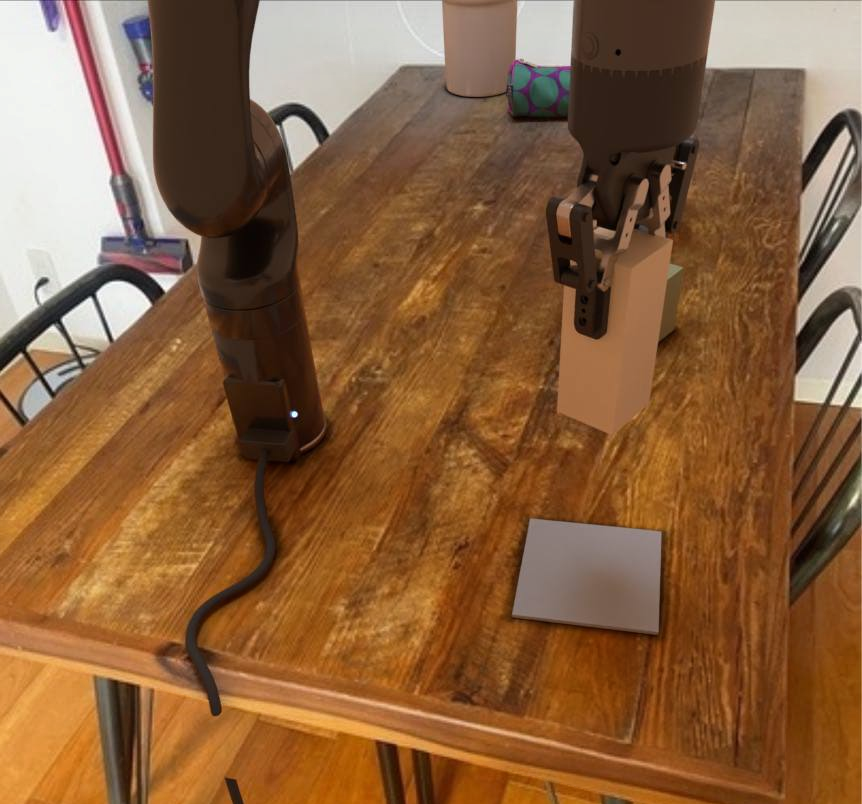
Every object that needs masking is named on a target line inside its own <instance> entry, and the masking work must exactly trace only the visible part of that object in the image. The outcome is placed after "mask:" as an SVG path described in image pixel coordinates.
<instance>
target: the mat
mask: <svg viewBox="0 0 862 804" xmlns="http://www.w3.org/2000/svg"><path fill="white" fill-rule="evenodd" d="M662 538H663V537H662V531H661V530H652V529H643V528H633V527H632V528H631V527H622V526H611V525H601V524H591V523H581V522H570V521H561V520H560V521H559V520H551V519H540V518H532V517H531V518H529V522H528V528H527V533H526V539H525V543H524V548H523V555H522V560H521V563H520V564H521V565H520V570H519V576H518V581H517V586H516V591H515V596H514V601H513V607H512V613H511V618H515V619H522V620H531V621H539V622H548V623H555V624H565V625H572V626H581V627H588V628H589V627H590V628H597V629H605V630H612V631H621V632H629V633H638V634H646V635H647V634H648V635H655V636H659V632H660V630H659V629H660V598H661V596H660V595H661V591H660V590H661V568H662V567H661V565H662Z"/></svg>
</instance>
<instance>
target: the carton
mask: <svg viewBox="0 0 862 804" xmlns="http://www.w3.org/2000/svg"><path fill="white" fill-rule="evenodd" d="M593 231H594V232H595V233H597V234H600V235H603V236H607V237H610V238H613V237H614V235H615V232H616V231H611V230H608V229H604V228H601V227H596V228H595V229H593ZM673 243H674V239H672V238H669V237H666V238H665V237H662V236H658V235H655V236H653V235H650V234H649V233H648V232H644V231H641V230H637V229H634V228H633V232H632V235H631V239H630V242H629V246H628V249H627V251H626V252H625V253H623V254H620V255H619V256H618V259H617V262H616V263H615V266H614V274H613V278H612V282H611V284H610V287H611V294H610V304H609V315H608V325H607V333H606V334H605V335H604V336H603V337H602V338H600V339H598V340H595V339H593V338H590V337H587V336H584V335H582V334H579V333H578V332H577V331H576V330H575V327H574V316H575V315H574V311H575V294H576V289H574V288H571V287H568V286H565V285H563V297H562V298H563V299H562V301H563V302H562V316H561V331H560V332H561V333H560V335H561V336H560V350H559V365H558V366H559V368H558V384H557V385H558V386H557V404H556V412H558V413H559V414H562V415H564V416H567V417H569V418H571V419H574V420H576V421H579V422H581V423H583V424H586V425H588V426H590V427H592V428H594V429H596V430H599V431H601V432H604V433H605V434H608V435H611V436H614V435H616V433H618V432H619V431H620V430H621V429H622V428H623V427H625V426H626V425H627V424H628V423H629V422H630V421H631V420H633V419H634V418H635V417H636V416H637V415H638V414H639V413H641V411H643V410H644V409H645V408H647V406H649V405H650V401H651V392H652V387H653V385H652V384H653V379H654V374H655V367H656V361H657V352H658V345H659V342H658V339H659V333H660V326H661V319H662V312H663V305H664V298H665V292H666V285H667V278H668V271H669V264H671V257H672V251H673ZM595 258H596V268H597V269H599V267H600V264H601V260H602V252H601V251H600V250H597V249H595ZM572 264H573V261H572V260H570V265H572Z"/></svg>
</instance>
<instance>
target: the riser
mask: <svg viewBox="0 0 862 804" xmlns="http://www.w3.org/2000/svg"><path fill="white" fill-rule="evenodd" d="M684 269H685V267H683V266H680V265H676V264H674V263H670V264H669V271H668V278H667V285H666V292H665V298H664V305H663V312H662V319H661V326H660V333H659V339H658V343H659V342H661V341H662V340H663V339H665V338H666V337H667V336H668V335H669V334H671V333H672V332H673V331H674V330H675V327H676V320H677V315H678V308H679V300H680V296H681V295H680V294H681V288H682V282H683V277H684V276H683V275H684Z"/></svg>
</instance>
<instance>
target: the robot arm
mask: <svg viewBox="0 0 862 804" xmlns="http://www.w3.org/2000/svg"><path fill="white" fill-rule="evenodd" d="M260 2H261V0H147V9H148V18H149V25H150V36H151V51H152V52H151V53H152V167H153V175H154V180H155V184H156V187H157V190H158V193H159V195H160V197H161V200H162V201H163V203H164V206H165V207H166V208H167V210H168V211H169V212H170V214H171V215H172V216H173V217H174V219H175V220H176V221H177V222H178V223H179V224H180V225H182V226H183V227H184V228H185V229H186V230H188V231H190V232H191V233H193V234H195V235H196V236H199V237H200V243H199V244H200V245H199V251H198V256H197V260H196V268H195V269H196V270H195V271H196V278H197V282H198V286H199V289H200V293H201V296H202V300H203V304H204V307H205V310H206V314H207V318H208V323H209V326H210V330H211V334H212V337H213V341H214V345H215V349H216V352H217V356H218V360H219V363H220V367H221V368H220V369H221V372H222V375H223V380H222V386H223V389H224V393H225V397H226V400H227V404H228V407H229V412H230V415H231V419H232V422H233V426H234V430H235V432H236V433H235V434H236V437H237V442H238V444H239V448H240V452H241V456H243V457H244V459H247V460H248V459H249V460H257V466H256V469H255V477H254V498H255V505H256V513H257V518H258V523H259V527H260V530H261V533H262V535H263V538H264V541H265V553H264V556H263V557H262V560H261V562H260V563H259V565H258V566H257V567H256V569H254V570H253V571H252V572H251V573H250V574H248V575H247V576H246V577H244V578H242V579H241V580H238V581H237V582H236V583H233V584H232V585H230V586H228V587H226V588H225V589H223V590H221V591H220V592H217V593H216V594H214V595H212V596H211V597H209V598H208V599H207V600H205V602H203V603H202V604H201V605H199V607H198V608H197V609H196V610H195V611H194V612H193V614H192V616H191V618H190V619H189V622H188V624H187V628H186V630H185V631H186V632H185V642H184V643H185V649H186V652H187V654H188V656H189V658H190V661H191V662H192V664H193V666H194V667H195V670H196V671H197V673H198V675H199V677H200V679H201V681H202V684H203V686H204V689H205V692H206V697H207V700H208V705H209V710H210V714H211V716H213V717H218V716H220V715H221V714H222V712H223V707H222V702H221V697H220V694H219V690H218V686H217V684H216V681H215V678H214V675H213V674H212V672H211V669H210V668H209V666H208V664H207V662H206V661H205V659H204V657H203V656H202V654H201V651H200V649H199V646H198V643H197V633H198V629H199V627H200V624H201V623H202V621H203V619H204V618H205V617H206V616H207V614H208V613H209V612H210V611H212V610H213V609H214V608H216V607H217V606H218V605H220V604H221V603H223V602H225V601H226V600H228V599H230V598H232V597H234V596H235V595H237V594H239V593H241V592H243V591H244V590H246V589H248V588H250V587H251V586H252V585H254V584H255V583H256V582H258V581H259V580H260V579H261V578H262V577H264V576H265V574H266V573H267V572H268V570H269V569H270V567H271V566H272V564H273V562H274V558H275V556H276V541H275V536H274V533H273V530H272V528H271V525H270V521H269V518H268V512H267V506H266V499H265V491H264V489H265V488H264V485H265V483H264V481H265V474H266V468H267V464H268V461H269V462H281V463H290V461H292V462H295V461H298V460H299V458H300V456H302V454H305V453H306V452H309V451H310V450H312V449H313V448H315V447H317V446H318V444H320V442H322V441H323V439H324V437H325V435H326V434H327V429H328V425H327V419H326V415H325V414H324V408H323V402H322V397H321V392H320V385H319V380H318V375H317V369H316V364H315V358H314V353H313V348H312V342H311V336H310V330H309V326H308V320H307V315H306V309H305V303H304V302H305V301H304V298H303V297H304V296H303V292H302V291H303V290H302V286H301V280H300V276H299V269H298V253H299V240H300V239H299V229H298V227H299V226H298V220H297V213H296V205H295V199H294V191H293V184H292V178H291V172H290V165H289V160H288V156H287V151H286V147H285V144H284V141H283V138H282V135H281V133H280V130H279V129H278V126H277V125H276V123H275V122H274V120H273V118H272V117H271V116H270V114H269V113H268V112H267V111H266V110H265V109H264V108H263V107H262V106H261V105H260V104H259V103H257V102H256V101H255V100H253V99H252V98H251V89H250V66H251V65H250V64H251V51H252V45H253V38H254V37H253V36H254V32H255V27H256V21H257V17H258V13H259V7H260ZM715 5H716V0H573V6H572V23H571V25H572V26H571V49H570V50H571V51H570V65H569V66H570V86H569V108H568V117H567V128H568V129H567V130H568V132H569V134H570V135H571V136H572V138H573V139H575V141H576V142H577V143H578V144H579V146H580V148H581V151H582V153H583V156H582V161H581V165H580V169H579V172H578V175H577V180H576V189H575V190H574V191H573V192H571V194H570V195H569V196H568V197H566V199H565V198H561V197H557V196H552V197H551V198H550V199H549V200H548V202H547V204H546V206H545V207H546V208H545V216H546V217H545V219H546V224H547V235H548V242H549V248H550V249H549V250H550V257H551V264H552V274H553V281H554V282H555V283H557V284H559V285H561V286H562V285H563V286H564V285H565V286H568V287H571V288H574V289H576V294H575V311H574V315H575V316H574V327H575V330H576V331H577V332H578V333H579V334H582V335H584V336H587V337H590V338H593V339H595V340H598V339H600V338H602V337H603V336H604V335H605V334H606V333H607V325H608V315H609V304H610V294H611V287H610V284H611V282H612V278H613V274H614V266H615V263H616V262H617V259H618V256H619V255H620V254H623V253H625V252H626V251H627V249H628V246H629V242H630V239H631V235H632V232H633V228H634V229H637V230H641V231H644V232H648V233H649V234H650V235H653V236H655V235H658V236H662V237H665V238H667V236H666V235H667V234H671V235H675V234H676V233H677V232H678V231H679V228H680V226H681V223H682V222H681V221H682V218H683V214H684V210H685V206H686V202H687V197H688V193H689V190H690V186H691V181H692V177H693V173H694V170H695V166H696V162H697V158H698V153H699V149H700V140H699V139H698V138H692V135H693V134H694V133H695V132H696V129H697V127H698V123H699V122H698V121H699V114H700V108H701V103H702V96H703V95H702V94H703V87H704V80H705V74H706V67H707V61H708V53H709V47H710V40H711V34H712V27H713V26H712V25H713V18H714V13H715V7H716V6H715ZM670 197H671V201H670ZM599 227H601V228H604V229H608V230H611V231H616V232H615V235H614V237H613V238H610V237H607V236H603V235H600V234H597V233H595V232H594V229H596V228H599ZM595 249H597V250H600V251H601V252H602V260H601V264H600V267H599V269H597V268H596V258H595ZM570 260H572V261H573V264H572V265H570ZM224 781H225V784H226V787H227V790H228V793H229V796H230V800H231V803H232V804H245V803H244V800H243V797H242V794H241V790H240V787H239V784H238V780H237V779H236V778H231V777H230V778H229V777H224Z"/></svg>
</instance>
